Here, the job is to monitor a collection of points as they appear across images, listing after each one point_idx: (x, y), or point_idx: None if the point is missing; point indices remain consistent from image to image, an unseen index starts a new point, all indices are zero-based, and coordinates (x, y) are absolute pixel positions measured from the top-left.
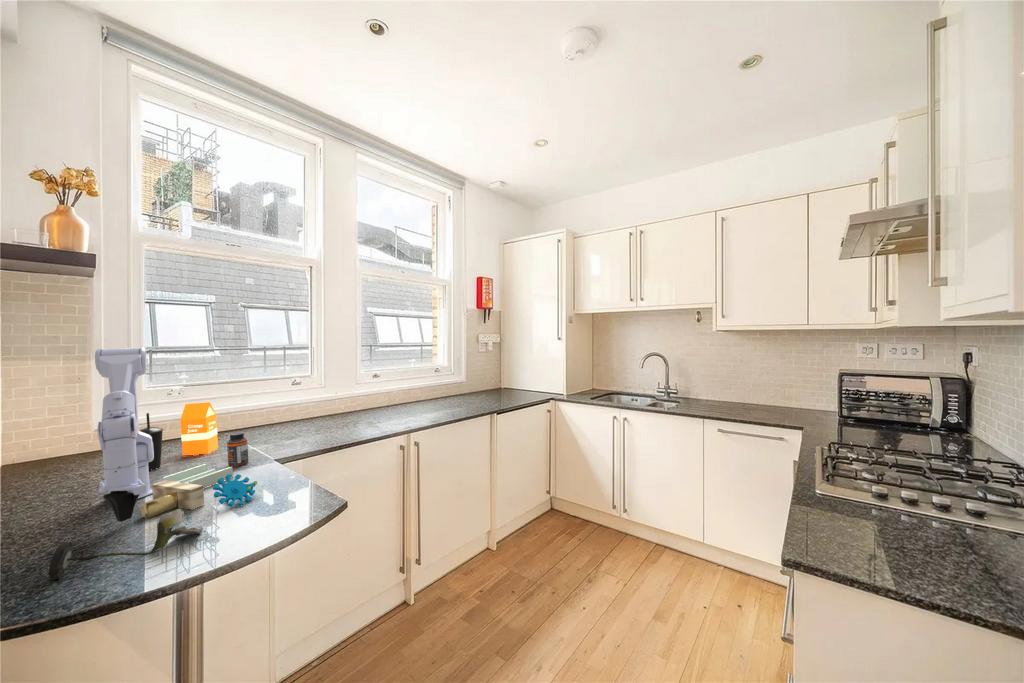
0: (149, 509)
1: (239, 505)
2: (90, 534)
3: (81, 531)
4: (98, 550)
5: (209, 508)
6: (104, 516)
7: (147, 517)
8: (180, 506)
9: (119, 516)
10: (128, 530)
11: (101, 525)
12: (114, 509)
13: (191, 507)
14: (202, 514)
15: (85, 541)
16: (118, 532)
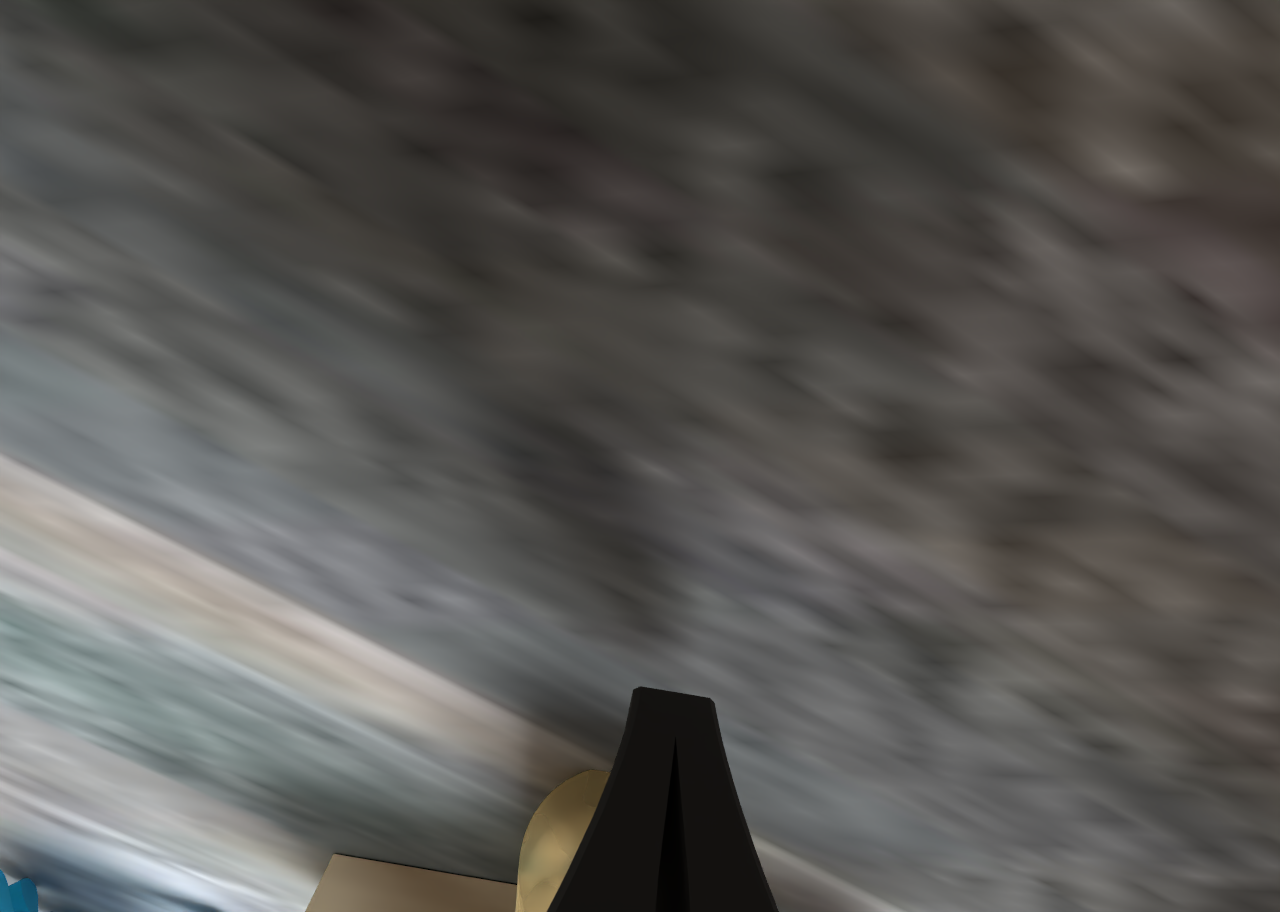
0: (528, 875)
1: (14, 883)
2: (903, 473)
3: (1167, 532)
4: (103, 80)
5: (225, 865)
6: (1217, 805)
7: (596, 776)
8: (485, 900)
9: (620, 756)
10: (462, 575)
11: (1012, 657)
12: (700, 896)
13: (324, 882)
14: (136, 802)
15: (729, 300)
16: (532, 534)
